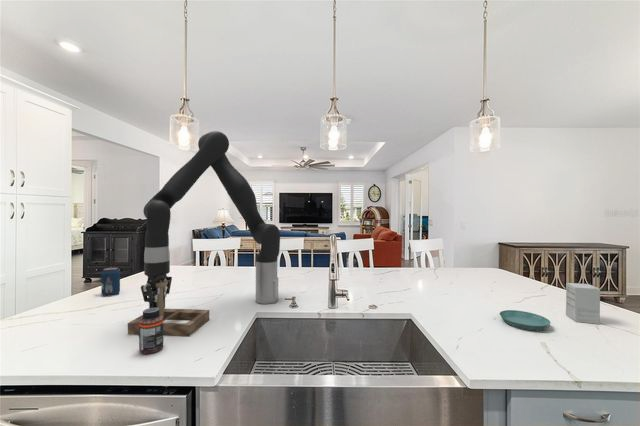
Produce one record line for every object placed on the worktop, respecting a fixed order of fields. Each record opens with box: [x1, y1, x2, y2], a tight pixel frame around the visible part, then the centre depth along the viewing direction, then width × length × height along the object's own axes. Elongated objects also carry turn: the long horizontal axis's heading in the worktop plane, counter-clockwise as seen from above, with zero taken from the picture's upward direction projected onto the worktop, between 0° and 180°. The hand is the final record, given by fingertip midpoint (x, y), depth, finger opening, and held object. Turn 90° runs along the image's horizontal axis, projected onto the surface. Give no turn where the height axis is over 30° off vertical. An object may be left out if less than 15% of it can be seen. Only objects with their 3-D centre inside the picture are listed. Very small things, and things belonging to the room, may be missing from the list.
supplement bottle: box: [138, 307, 164, 355], centre depth 83 cm, size 6×6×11 cm
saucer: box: [498, 309, 551, 331], centre depth 104 cm, size 15×15×3 cm
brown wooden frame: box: [127, 308, 210, 337], centre depth 99 cm, size 20×14×4 cm
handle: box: [152, 280, 168, 319], centre depth 100 cm, size 5×6×15 cm
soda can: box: [100, 266, 121, 297], centre depth 135 cm, size 7×7×12 cm
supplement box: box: [565, 282, 601, 325], centre depth 108 cm, size 7×7×13 cm
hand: (157, 310), depth 100 cm, fingers closed on handle, 4 cm apart
